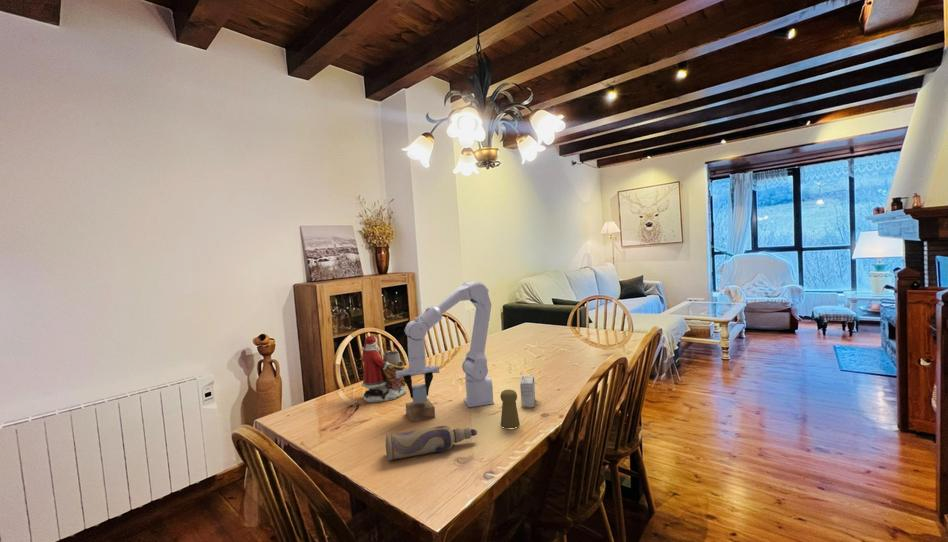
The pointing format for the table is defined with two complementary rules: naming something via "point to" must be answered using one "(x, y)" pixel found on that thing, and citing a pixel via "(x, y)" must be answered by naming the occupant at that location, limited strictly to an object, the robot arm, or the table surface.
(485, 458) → the table surface
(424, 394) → the slate cube
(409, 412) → the walnut block
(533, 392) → the medicine box
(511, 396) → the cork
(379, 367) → the santa figurine
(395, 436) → the decorative bottle
